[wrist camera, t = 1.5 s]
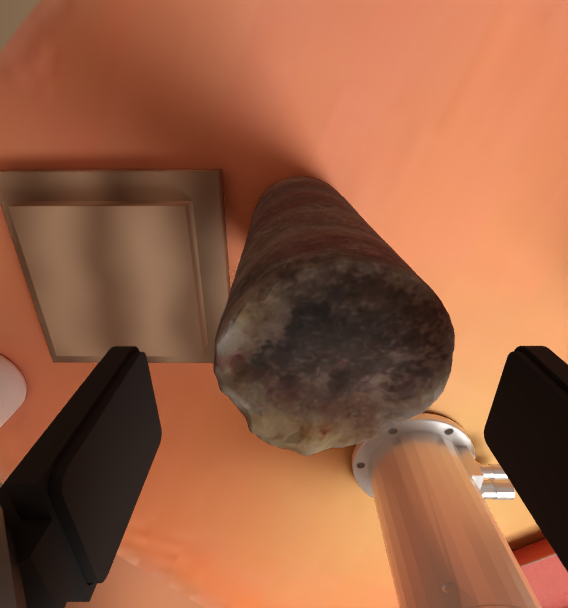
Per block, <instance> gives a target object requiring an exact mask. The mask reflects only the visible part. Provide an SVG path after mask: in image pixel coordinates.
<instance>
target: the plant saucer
mask: <svg viewBox="0 0 568 608" xmlns="http://www.w3.org/2000/svg"><path fill="white" fill-rule="evenodd" d="M512 552H513V554H514V556H515V558H516V560H517V561H518V563H519V565H520V567H521V569H522V571H523V573H524V575H525V576H526V578H527V580H528V582H529V584H530V586H531V588H532V590H533V591H534V593H535V595H536V597H537V599H538V601H539V603H540V605H541V607H542V608H568V572H567V571H566V569H565V567H564V566H563V564H562V563H561V561H560V559H559V558H558V556H557V555H556V553H555V552H554V550H553V548H552V547H551V545H550V544H549V542H548V540H547V539H546V538H545V539H542V540H540V541H537V542H535V543H532V544H529V545H527V546H524V547H522V548H519V549H516V550H514V551H512Z"/></svg>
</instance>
